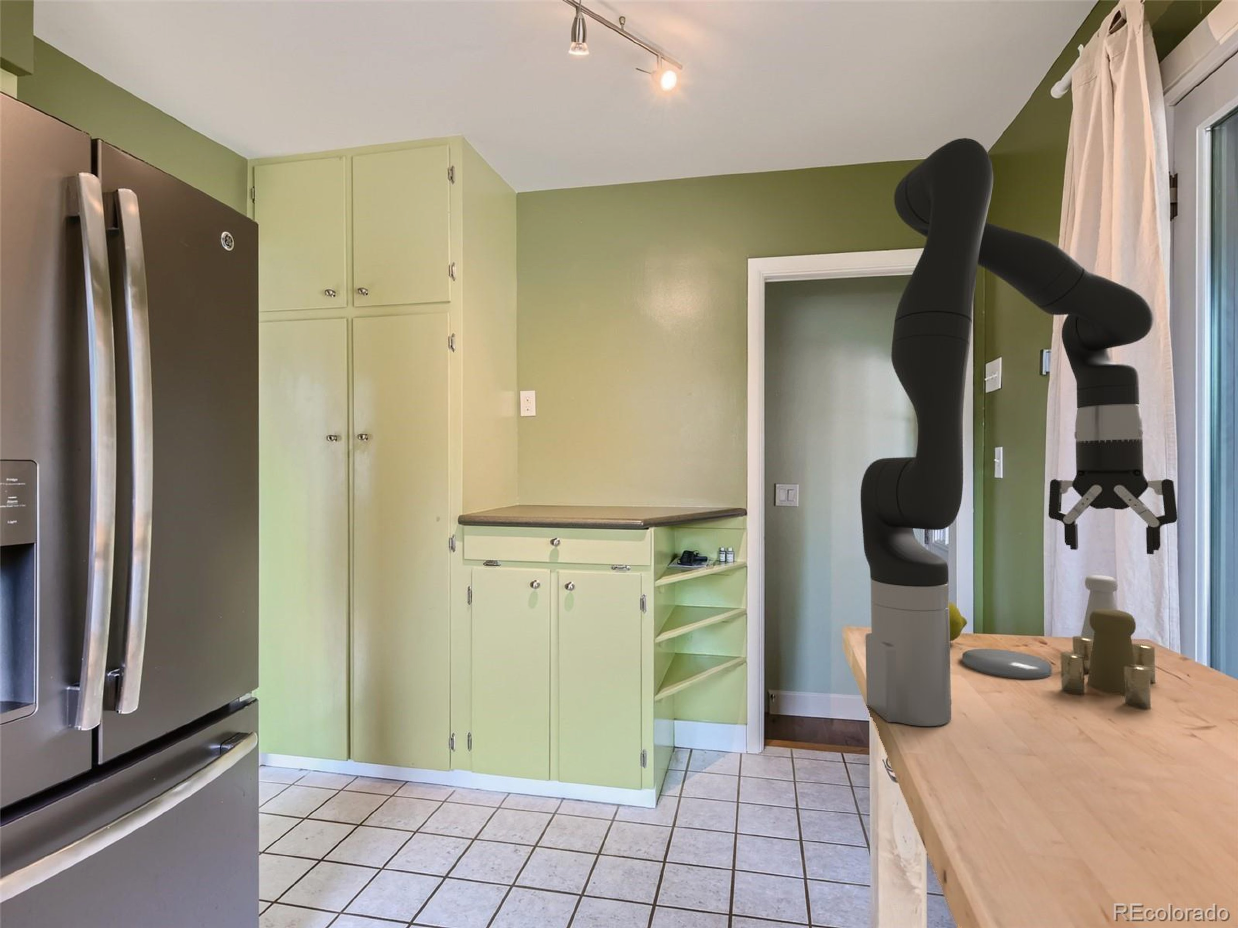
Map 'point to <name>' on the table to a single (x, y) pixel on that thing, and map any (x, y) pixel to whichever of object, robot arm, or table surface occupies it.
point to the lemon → (955, 622)
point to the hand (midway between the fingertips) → (1110, 551)
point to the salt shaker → (1098, 599)
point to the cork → (1110, 649)
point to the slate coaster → (1007, 663)
